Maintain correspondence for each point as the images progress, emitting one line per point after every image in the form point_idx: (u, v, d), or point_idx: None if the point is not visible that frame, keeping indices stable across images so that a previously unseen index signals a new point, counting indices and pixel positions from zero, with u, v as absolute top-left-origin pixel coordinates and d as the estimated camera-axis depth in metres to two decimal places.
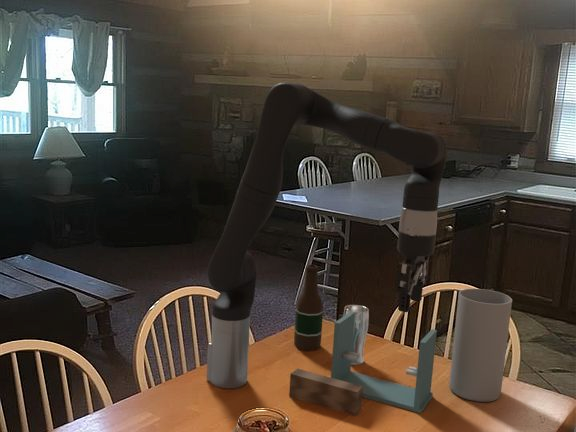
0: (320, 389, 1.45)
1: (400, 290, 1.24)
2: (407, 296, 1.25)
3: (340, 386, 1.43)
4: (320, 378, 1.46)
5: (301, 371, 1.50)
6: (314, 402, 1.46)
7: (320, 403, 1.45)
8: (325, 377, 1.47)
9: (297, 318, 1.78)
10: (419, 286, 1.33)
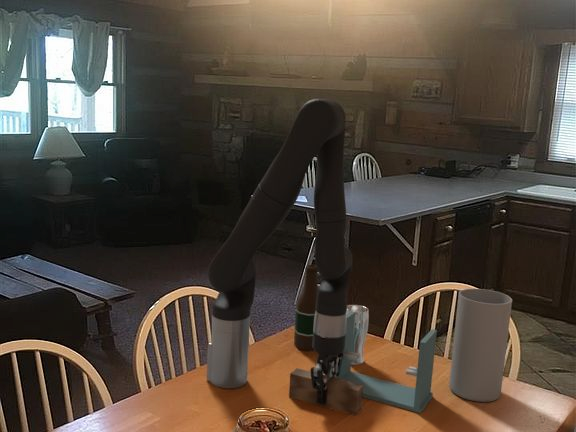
0: None
1: (316, 387, 1.42)
2: (323, 391, 1.43)
3: (341, 385, 1.43)
4: None
5: (301, 371, 1.49)
6: (314, 401, 1.46)
7: None
8: None
9: (297, 318, 1.78)
10: None
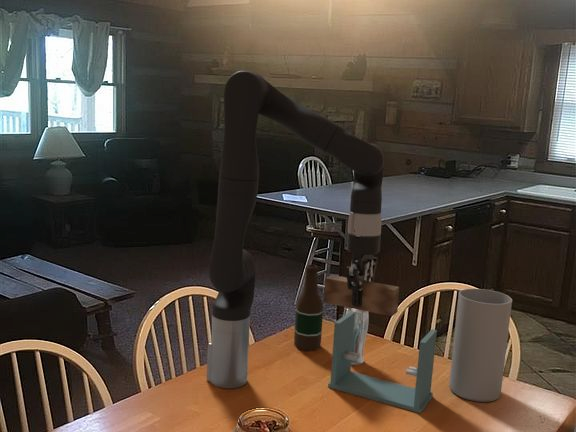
0: None
1: (352, 287, 1.41)
2: (359, 292, 1.42)
3: (376, 286, 1.42)
4: None
5: (335, 276, 1.49)
6: (349, 305, 1.45)
7: None
8: None
9: (297, 318, 1.78)
10: None
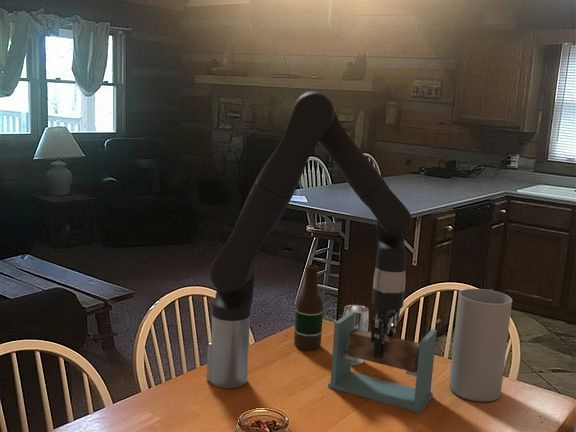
0: None
1: (374, 340, 1.46)
2: (381, 345, 1.48)
3: (399, 343, 1.49)
4: None
5: (359, 330, 1.55)
6: (373, 359, 1.52)
7: (379, 360, 1.51)
8: None
9: (297, 318, 1.78)
10: (391, 336, 1.54)
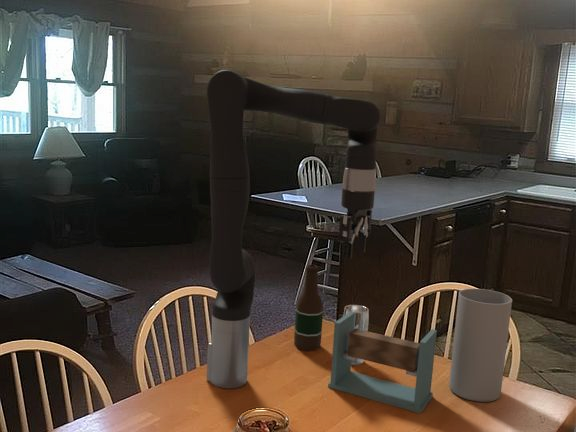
0: (379, 347, 1.50)
1: (342, 239, 1.41)
2: (349, 245, 1.43)
3: (399, 343, 1.48)
4: (379, 336, 1.52)
5: (359, 331, 1.55)
6: (373, 359, 1.52)
7: (379, 360, 1.51)
8: (383, 336, 1.53)
9: (297, 318, 1.78)
10: (363, 239, 1.51)
